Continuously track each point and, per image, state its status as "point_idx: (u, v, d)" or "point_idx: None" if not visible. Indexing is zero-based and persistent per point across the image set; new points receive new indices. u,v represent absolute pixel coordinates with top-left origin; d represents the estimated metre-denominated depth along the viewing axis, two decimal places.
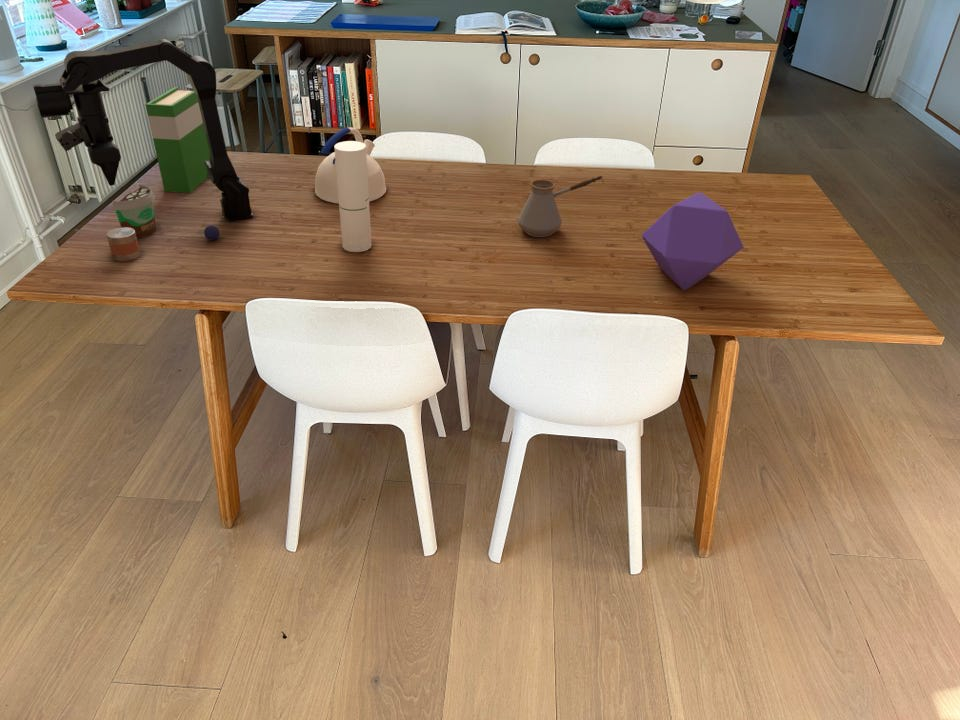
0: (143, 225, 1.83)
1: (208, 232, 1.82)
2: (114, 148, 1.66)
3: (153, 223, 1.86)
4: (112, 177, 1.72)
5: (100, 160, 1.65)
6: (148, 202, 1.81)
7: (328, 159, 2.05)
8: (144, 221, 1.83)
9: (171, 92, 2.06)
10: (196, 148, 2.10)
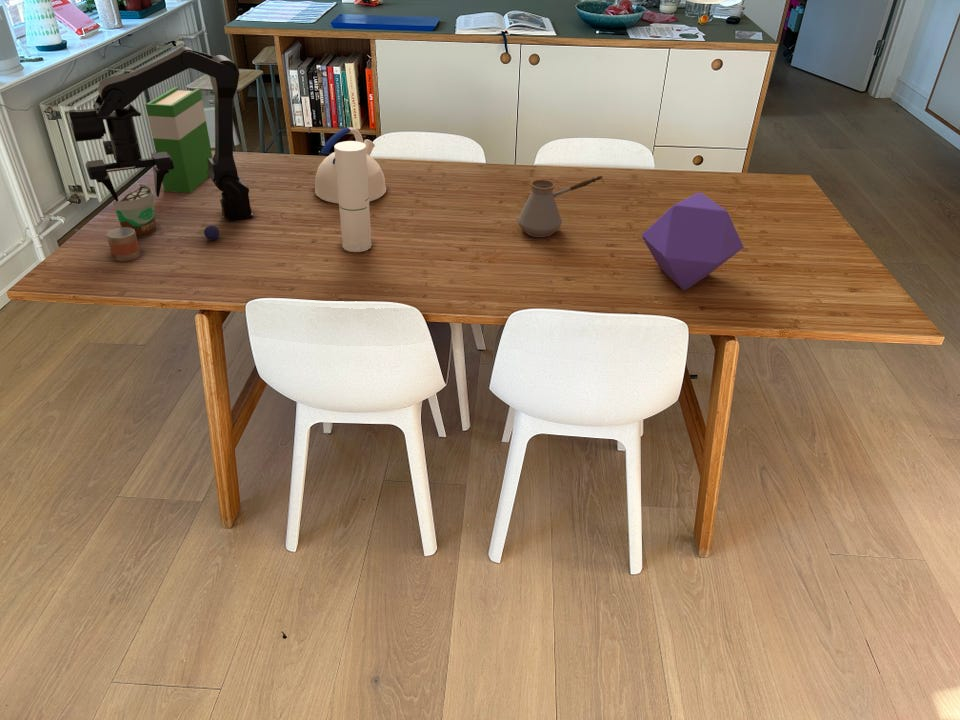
0: (143, 225, 1.83)
1: (208, 232, 1.82)
2: (89, 168, 1.71)
3: (153, 223, 1.86)
4: (112, 195, 1.78)
5: None
6: (149, 202, 1.81)
7: (328, 159, 2.05)
8: (144, 221, 1.83)
9: (171, 92, 2.06)
10: (196, 148, 2.10)
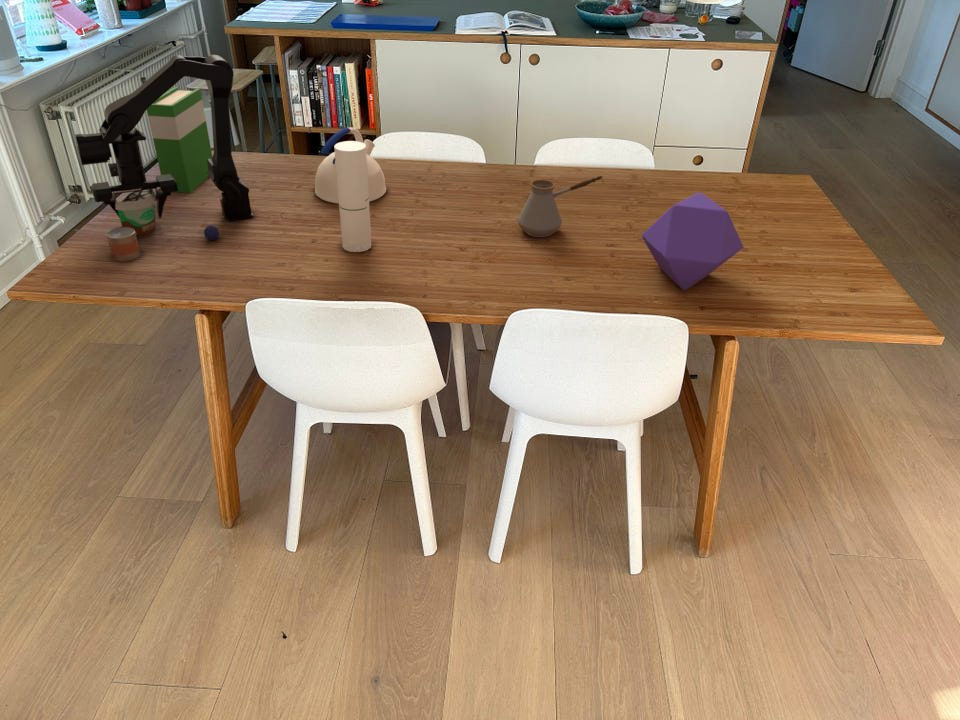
0: (144, 225, 1.83)
1: (208, 232, 1.82)
2: (94, 191, 1.74)
3: (154, 223, 1.86)
4: (118, 216, 1.82)
5: (93, 195, 1.78)
6: (151, 203, 1.81)
7: (328, 159, 2.05)
8: (145, 221, 1.83)
9: (171, 92, 2.06)
10: (196, 148, 2.10)
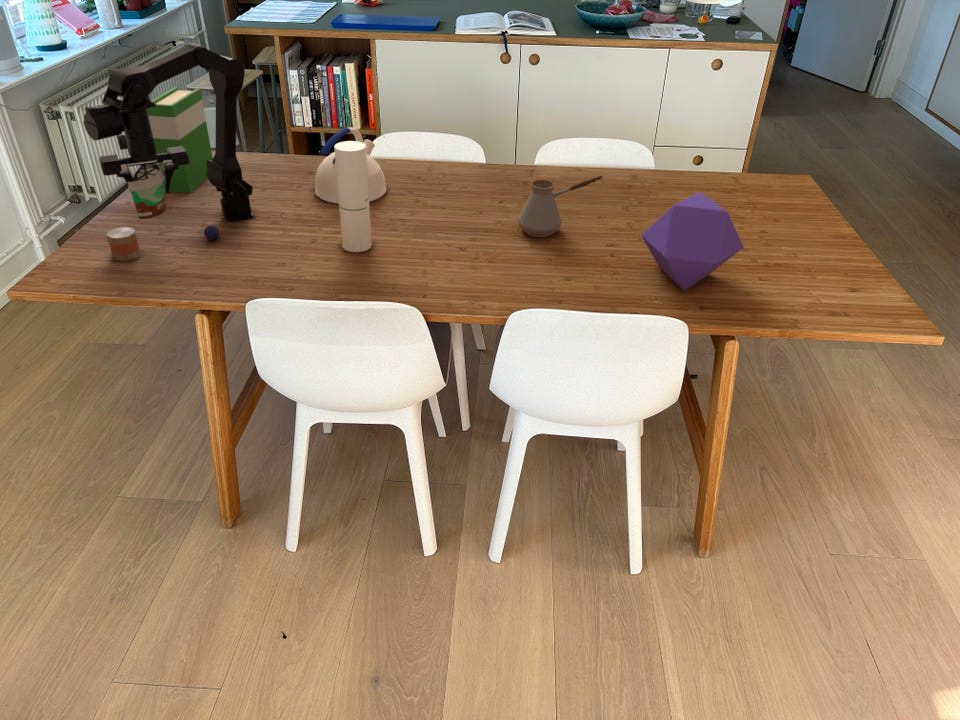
0: (158, 203, 1.74)
1: (208, 232, 1.82)
2: (102, 164, 1.65)
3: (165, 200, 1.77)
4: None
5: (101, 168, 1.69)
6: (162, 179, 1.72)
7: (328, 159, 2.05)
8: (159, 199, 1.73)
9: (171, 92, 2.06)
10: (196, 148, 2.10)
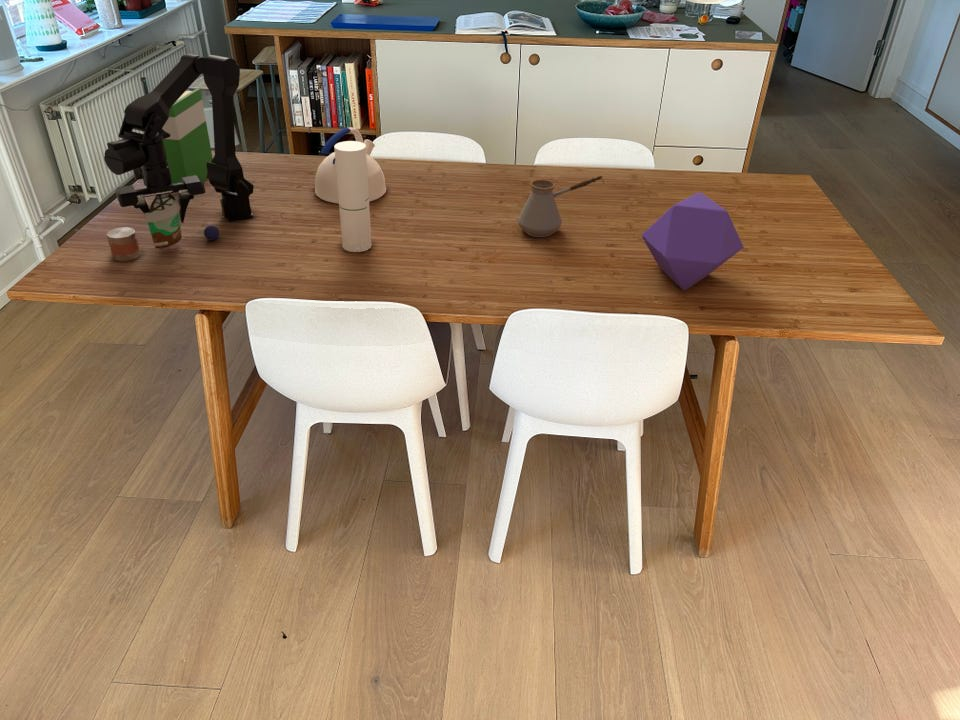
0: (174, 233, 1.75)
1: (208, 232, 1.82)
2: (119, 195, 1.66)
3: (180, 229, 1.78)
4: None
5: None
6: (178, 208, 1.73)
7: (328, 159, 2.05)
8: (175, 228, 1.75)
9: None
10: (196, 148, 2.10)
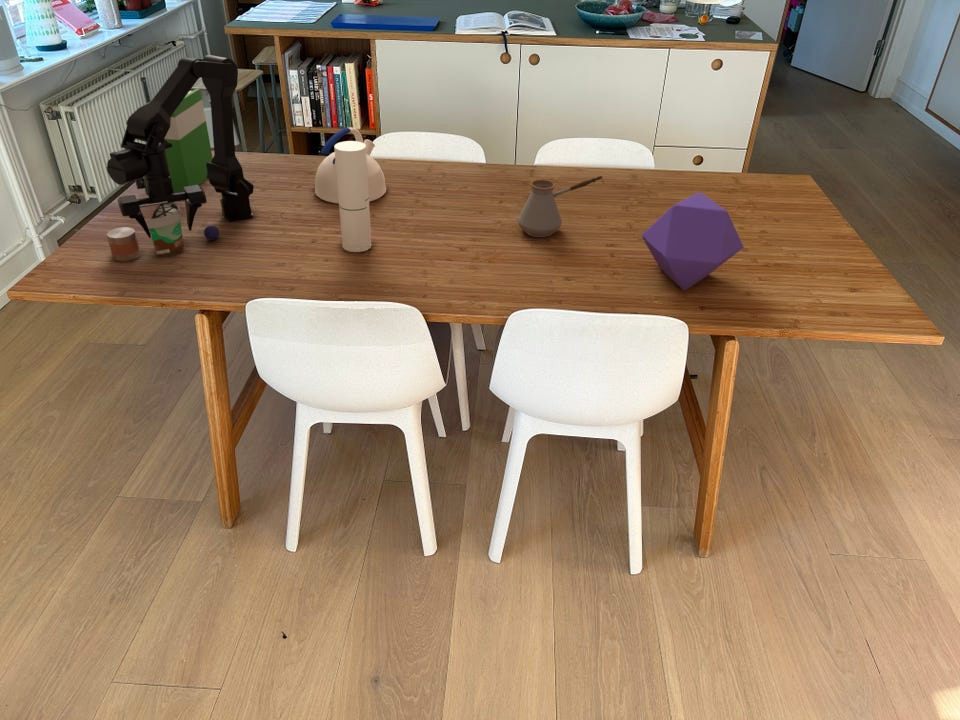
0: (176, 241, 1.76)
1: (208, 232, 1.82)
2: (121, 205, 1.67)
3: (182, 238, 1.79)
4: (145, 230, 1.75)
5: (120, 208, 1.71)
6: (180, 216, 1.75)
7: (328, 159, 2.05)
8: (177, 237, 1.76)
9: None
10: (196, 148, 2.10)
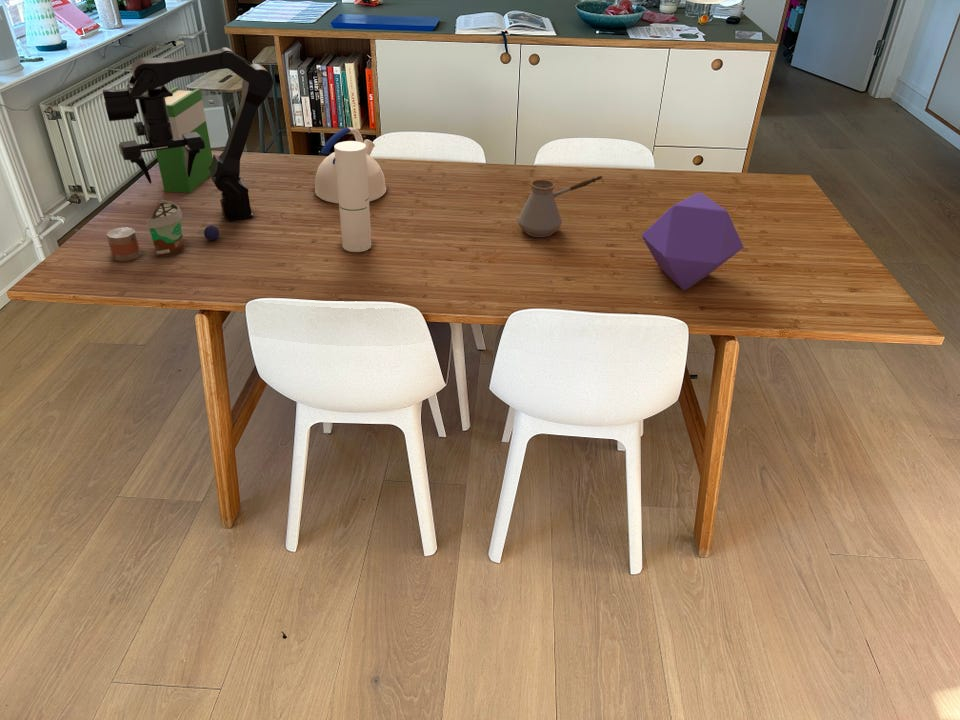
0: (176, 241, 1.76)
1: (208, 232, 1.82)
2: (123, 149, 1.73)
3: (182, 238, 1.79)
4: None
5: (121, 153, 1.77)
6: (180, 216, 1.75)
7: (328, 159, 2.05)
8: (177, 237, 1.76)
9: None
10: None
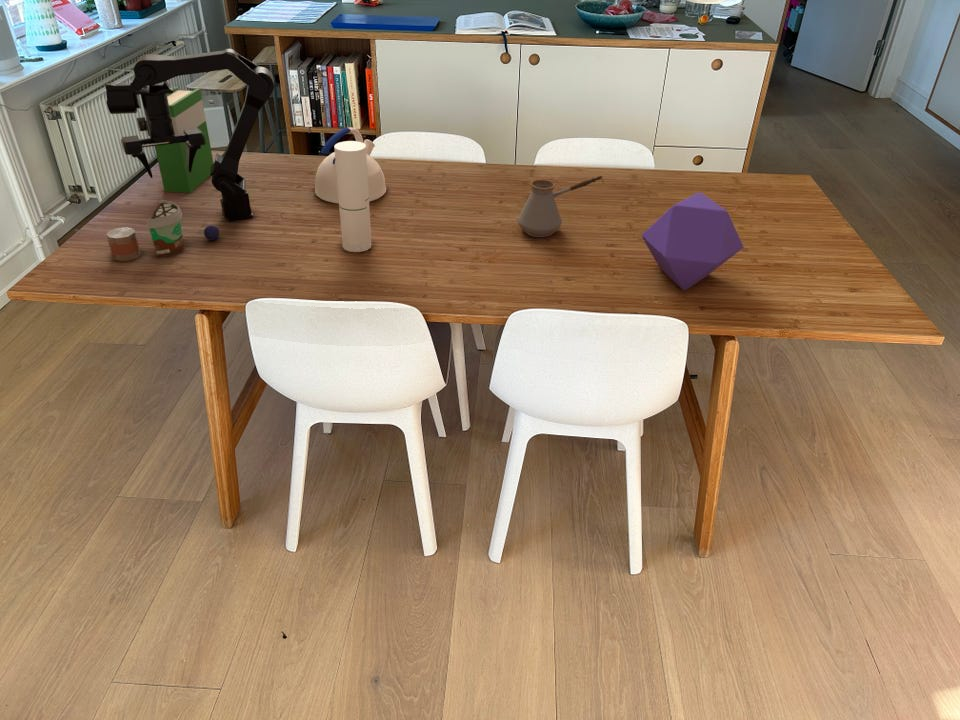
0: (176, 241, 1.76)
1: (208, 232, 1.82)
2: (124, 144, 1.76)
3: (182, 238, 1.79)
4: None
5: (123, 148, 1.80)
6: (180, 216, 1.75)
7: (328, 159, 2.05)
8: (177, 237, 1.76)
9: None
10: None
